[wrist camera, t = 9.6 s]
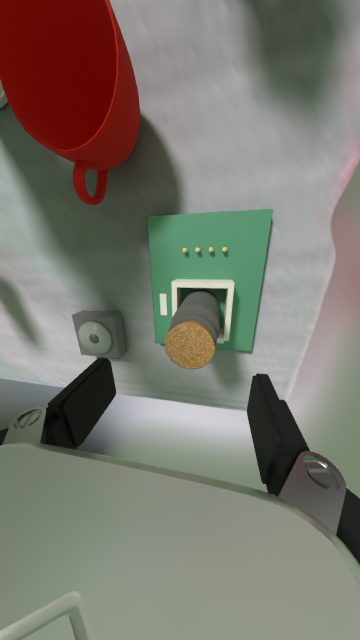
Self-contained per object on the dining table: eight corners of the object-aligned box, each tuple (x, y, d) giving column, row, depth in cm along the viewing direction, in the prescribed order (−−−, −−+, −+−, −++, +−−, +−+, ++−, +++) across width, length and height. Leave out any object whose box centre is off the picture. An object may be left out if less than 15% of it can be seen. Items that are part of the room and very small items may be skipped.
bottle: (225, 304, 29) (236, 348, 15) (202, 327, 31) (192, 384, 17) (199, 281, 28) (184, 304, 14) (177, 306, 30) (146, 347, 16)
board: (150, 218, 28) (134, 208, 22) (269, 211, 24) (285, 198, 19) (157, 339, 35) (147, 355, 30) (249, 347, 32) (256, 366, 26)
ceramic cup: (84, 215, 29) (24, 196, 20) (67, 73, 23) (-30, -46, 14) (155, 217, 27) (125, 197, 18) (157, 63, 21) (113, -83, 12)
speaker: (82, 310, 36) (68, 316, 33) (121, 312, 35) (110, 318, 31) (90, 347, 39) (78, 356, 36) (126, 351, 38) (117, 360, 34)
